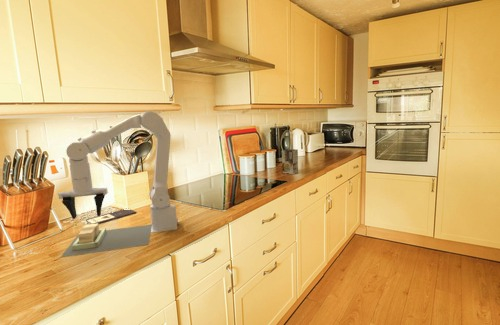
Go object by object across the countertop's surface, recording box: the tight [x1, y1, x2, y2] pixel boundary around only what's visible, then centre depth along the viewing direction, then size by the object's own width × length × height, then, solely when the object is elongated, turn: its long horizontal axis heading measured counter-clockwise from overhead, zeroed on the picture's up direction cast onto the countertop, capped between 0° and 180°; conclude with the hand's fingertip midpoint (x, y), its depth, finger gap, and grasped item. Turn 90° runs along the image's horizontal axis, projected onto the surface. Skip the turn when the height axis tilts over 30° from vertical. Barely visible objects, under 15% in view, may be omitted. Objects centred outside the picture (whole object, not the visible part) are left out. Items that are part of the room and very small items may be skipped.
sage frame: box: [72, 228, 107, 250], centre depth 102 cm, size 8×13×2 cm, turn 14°
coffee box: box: [281, 148, 299, 175], centre depth 200 cm, size 9×6×16 cm
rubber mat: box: [59, 224, 152, 258], centre depth 103 cm, size 26×19×1 cm
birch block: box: [77, 223, 100, 244], centre depth 102 cm, size 9×4×4 cm, turn 14°
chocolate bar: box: [85, 208, 137, 225], centre depth 128 cm, size 9×1×18 cm
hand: (87, 216), depth 101 cm, fingers open, 7 cm apart
